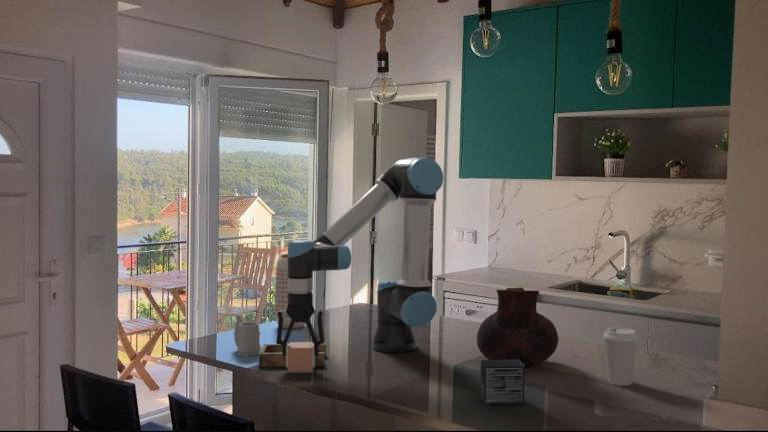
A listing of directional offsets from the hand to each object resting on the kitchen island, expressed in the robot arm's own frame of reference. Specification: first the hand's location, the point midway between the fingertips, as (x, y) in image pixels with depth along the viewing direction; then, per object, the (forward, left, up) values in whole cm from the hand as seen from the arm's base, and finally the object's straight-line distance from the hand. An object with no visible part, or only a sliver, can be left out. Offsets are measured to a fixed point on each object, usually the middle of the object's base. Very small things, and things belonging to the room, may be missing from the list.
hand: (300, 366), depth 211 cm
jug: (-67, -4, -1) cm, 67 cm away
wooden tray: (+2, -10, -1) cm, 10 cm away
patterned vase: (+8, -60, -1) cm, 60 cm away
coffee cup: (-92, +16, -1) cm, 94 cm away
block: (0, 0, 0) cm, 0 cm away
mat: (0, 0, -1) cm, 1 cm away
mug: (+20, -22, -1) cm, 29 cm away
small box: (-55, +31, -1) cm, 63 cm away
